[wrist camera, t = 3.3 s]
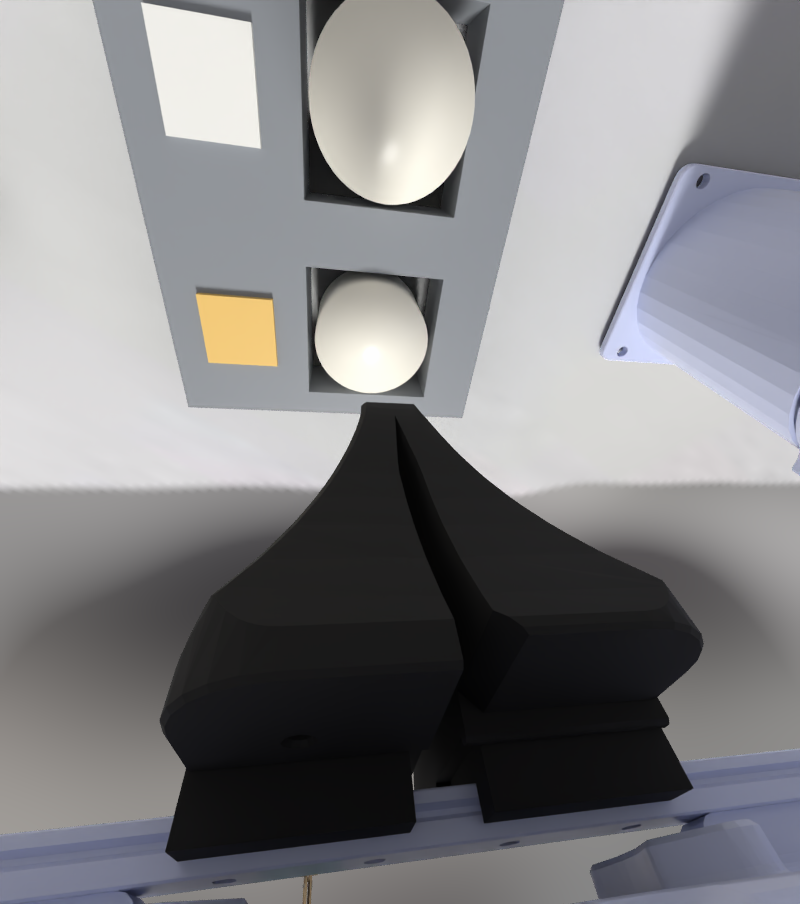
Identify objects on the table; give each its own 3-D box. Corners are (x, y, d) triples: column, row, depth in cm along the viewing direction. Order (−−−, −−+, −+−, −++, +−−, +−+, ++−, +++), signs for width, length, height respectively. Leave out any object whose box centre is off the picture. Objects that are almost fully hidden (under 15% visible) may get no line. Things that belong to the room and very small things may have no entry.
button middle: (467, 27, 12) (493, 2, 10) (441, 203, 14) (457, 213, 12) (313, -3, 11) (306, -37, 9) (315, 187, 14) (310, 195, 12)
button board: (646, -518, 8) (753, -752, 6) (451, 391, 21) (463, 420, 19) (-34, -824, 6) (-228, -1315, 4) (205, 379, 19) (187, 409, 17)
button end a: (425, 272, 17) (436, 290, 15) (411, 368, 19) (419, 395, 17) (317, 261, 16) (314, 279, 14) (318, 363, 19) (315, 390, 17)
